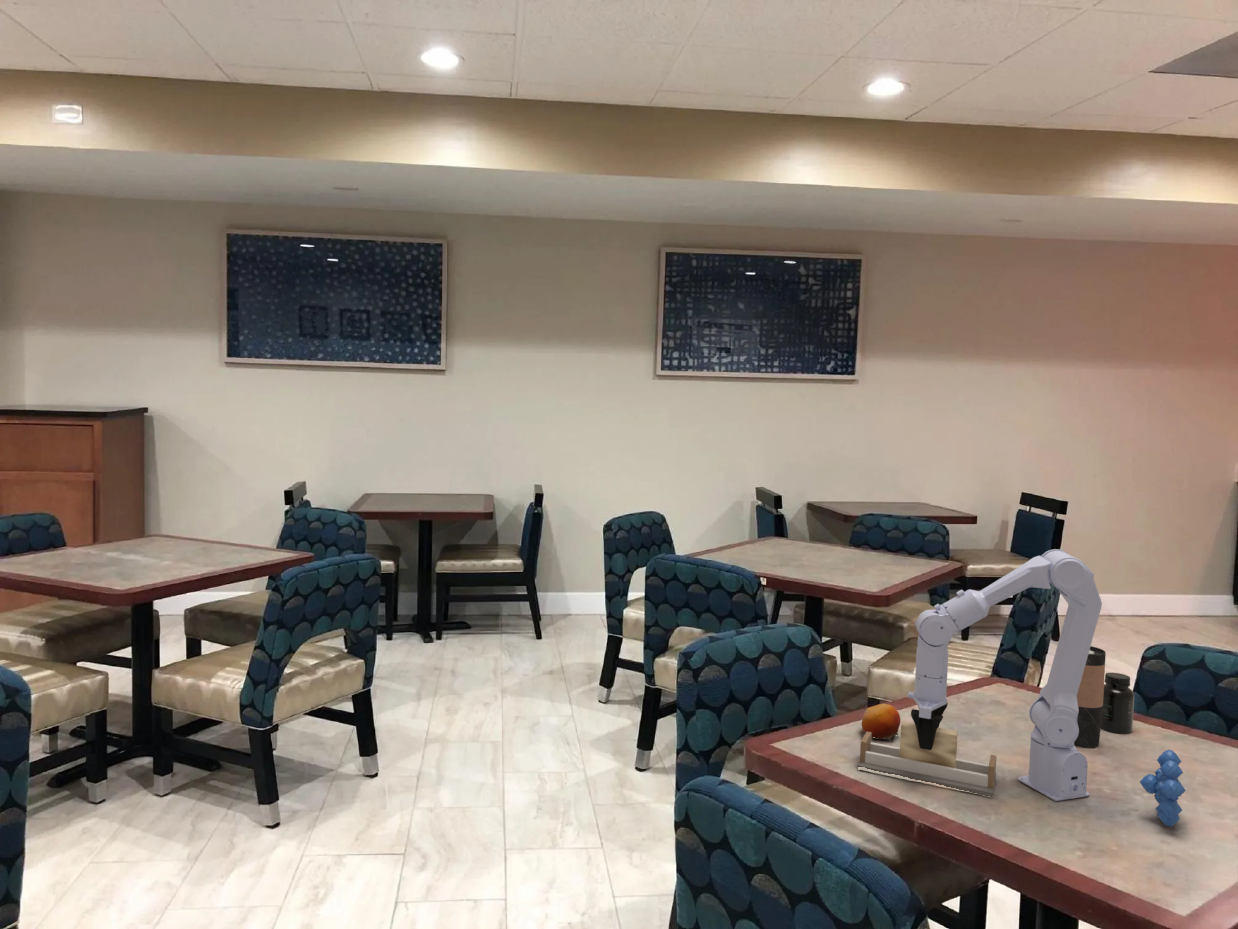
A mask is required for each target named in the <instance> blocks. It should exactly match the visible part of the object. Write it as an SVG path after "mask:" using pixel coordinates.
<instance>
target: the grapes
mask: <svg viewBox="0 0 1238 929" xmlns="http://www.w3.org/2000/svg"><path fill="white" fill-rule="evenodd" d="M1156 761H1157V763H1158V764H1159V767H1158V768H1157V769H1156V770H1155V771H1154V774H1151V773H1149V774H1147V775H1144V776H1143V777H1142V779H1141V780H1140V781H1139V783H1140V784H1141V786H1142V788H1143V790H1145V792H1146V793H1148V794H1152V795H1153V794H1154V795H1153V796H1154V799H1155V801H1156V802H1157V803H1158V806H1157V807H1155V810H1156V812H1157V814H1156V815H1157V816H1158V818H1159V819H1160V821H1161V822H1162V823H1163V824H1164V826H1166V827H1169V828H1170V827H1173V826H1175V825H1176V824H1177V823H1178V822H1179V821H1180V820H1181V818H1180V816H1179V815H1180V814H1181V813H1182V811H1183V809H1182V807H1181V805H1180V804H1179V802H1178V800H1179V797H1181V796H1182V795H1183V794H1184V793H1185V792H1186V789H1185V788H1184V785H1183V784H1182V783H1181V782H1180V780H1179V779H1178V778H1179V777H1180V776H1181V775H1182V774H1183V773H1184V772H1183V770H1182V769H1181V767H1180V766H1179V765H1180V764H1181V763H1182V760H1181V759H1180V757H1179V756H1178V755H1177V753H1176V752H1175V751H1174V750H1172V749H1167V750H1164V751H1163V752H1162V753H1161V754H1160V755H1159V756H1158V758H1157V759H1156Z"/></svg>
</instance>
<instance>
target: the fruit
mask: <svg viewBox="0 0 1238 929" xmlns="http://www.w3.org/2000/svg"><path fill="white" fill-rule="evenodd" d="M900 727H901V716H900V713H899V711H898V710H897V709H896V707H894V706H893V705H892V704H887V703H880V704H876V705H872V706H871V707H868V708H866V709H865V711H864V713H863V715H862V720H861V728H862V729H863V732H864V733H866V732H872V737H875V738H878V739H877V740H885V739H889V740H890V741H891V739H892V738H893V737H894V736H896V735H898V732H899V728H900ZM889 740H888V741H889Z"/></svg>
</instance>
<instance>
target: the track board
mask: <svg viewBox="0 0 1238 929" xmlns="http://www.w3.org/2000/svg"><path fill="white" fill-rule="evenodd" d="M872 739H873V738H872V732H865V734H863V737H862V739H861V741H860V748H859V749H860V750H859V752H860V753H859V762H858V764H857V768H858V767H865V768H867V769H871V770H874V771H879V772H883V773H888V774H895V775H900V776H903V777H908V778H910V779H915V780H921V781H925V782H931V783H936V784H939V785H944V786H946V787H951V788H956V789H959V790H964V791H969V792H972V793H977V794H980V795H985V796H990V797H992V796H993V797H994V791H993V790H995V785H996V784H995V783H996V779H995V778H997V771H996V770H997V755H995V754H990V756H989V763H988V764H987V763H982V762H976V761H972V760H965V759H960V758H957V757H956V768H951V767H946V766H941V765H936V764H931V763H926V762H921V761H916V760H911V759H905V758H900V757H899V756H900V746H899V747H898V746H892V745H889V744H882V743H878V742H874V741H873V742H872ZM994 784H995V785H994ZM993 797H992V798H993Z"/></svg>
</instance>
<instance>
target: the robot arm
mask: <svg viewBox="0 0 1238 929" xmlns="http://www.w3.org/2000/svg"><path fill="white" fill-rule="evenodd" d="M1050 584H1051V585H1053V587H1055V588H1056V589H1057V590H1058V592H1059V594H1060V595H1061V596H1062V598H1063V599H1064V601H1065V602H1066V603H1067V605H1068V606H1067V609H1066V612H1065V616H1064V620H1063V623H1062V627H1061V631H1060V635H1059V638H1058V642H1057V646H1056V649H1055V651H1054V652H1055V654H1054V656H1053V660H1052V664H1051V667H1050V671H1049V674H1048V678H1047V682H1046V684H1045V685H1044V686H1042V688H1040V691H1039V695H1038V697H1037V698H1036V699H1035V700H1034V701H1033V702H1032V703H1031V705H1030V706H1029V710H1028V711H1029V713H1028V714H1029V719H1030V721H1031V723H1032V724H1033V725H1034V728H1033V730H1032V731H1031V733H1030V746H1029V747H1030V748H1029V749H1030V750H1029V762H1028V775H1022V776H1017V781H1019V782H1020V783H1022V784H1024V785H1026V786H1028V787H1030V788H1031V789H1034V790H1035V791H1037V792H1039V793H1041V794H1042V795H1044V796H1046V797H1048V798H1049V799H1051V800H1053V801H1055V802H1056V801H1057V802H1058V801H1059V802H1060V801H1065V800H1070V799H1071V800H1072V799H1077V798H1078V799H1079V798H1083V797H1089V796H1090V792H1088V791H1087V781H1088V780H1087V779H1088V767H1089V766H1088V759H1087V757H1086V756H1085V755H1084V754H1083V753H1082V752H1081V751H1080V750H1078V749H1077V746H1075V745H1074V741H1075V740H1076V739H1077V737H1078V734H1079V727H1078V723H1077V716H1078V713H1079V710H1078V703H1077V693H1078V689H1079V686H1080V682H1081V679H1082V675H1083V671H1084V668H1085V664H1086V661H1087V657H1088V654H1089V650H1090V646H1092V642H1093V638H1094V635H1095V631H1096V627H1097V624H1098V620H1099V617H1100V613H1101V610H1102V604H1103V603H1102V598H1101V596H1100V593H1099V590H1098V588H1097V585H1096V581H1095V574H1094V573H1093V572H1092V570H1091V569H1090V568H1089V567H1088V566H1087V564H1086V563H1085V562H1083V561H1082V560H1081V559H1079V558H1077V557H1075V556H1072V555H1070V554H1069V553H1068V552H1066V551H1064V550H1063V549H1058V548H1057V549H1056V548H1054V549H1049V550H1047V551H1045V552H1044V553H1043V554H1041V555H1037V556H1034V557H1032V558H1031V559H1029V560H1028V561H1026V562H1025V563H1023V564H1021V565H1020V566H1018V567H1017V568H1015V569H1013V570H1012V571H1010V572H1008V573H1007V574H1005V575H1004V576H1002V577H1000V578H998V579H997V580H995V581H994V582H992V583H991V584H989V585H988V586H986V587H984V588H982V589H981V590H975V589H967V590H965V591H964V590H963V589H960V590H958V591H957V592H955V593H956V596H954V597H953V598H951V599H949V600H947V601H945V602H943V603H942V604H939V603H937V604H935V605H934V606H933V607H934V609H926V610H923V611H922V612H921V613H920V614H919V615H918V617H917V618H916V621H914V625H915V628H916V629H915V630H916V631H917V633H918V635H917V647H916V651H915V652H916V654H915V655H916V656H915V673H914V674H915V676H914V677H915V678H914V691H909V692H908V693H907V698H908V699H912V700H913V701H914V702H915V704H916V705H917V708H918V709H915V708H912V709H911V711H910V716H911V718H912V720H913V723H915V726H916V729H917V735H918V742H919V746H920V748H921V749H926V750H931V749H932V747H933V744H934V739H935V734H936V731H937V728H940V724H941V722H942V721H943V719H944V716H943V715H944V712H945V711H946V709H947V707H948V705H949V704H948V697H947V691H948V690H947V686H948V670H949V669H948V668H949V650H948V649H949V642H950V641H951V640H952V638H953V636H954V634H955V633H959V632H960V631H963V630H964V629H966V628H967V627H970V626H971V625H973V624H975V623H977V622H978V621H981V620H983V619H985V618H986V617H987V616H988V615H989V611H990V608H991V607H992V606H994V605H997V604H998V603H1000V602H1003V601H1005V600H1006V599H1008V598H1011V597H1012V596H1013V597H1014V596H1015V595H1017V594H1019V593H1021V592H1023V591H1025V590H1028V589H1030V588H1036V589H1045V590H1051V589H1052V587H1051V585H1050Z"/></svg>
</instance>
